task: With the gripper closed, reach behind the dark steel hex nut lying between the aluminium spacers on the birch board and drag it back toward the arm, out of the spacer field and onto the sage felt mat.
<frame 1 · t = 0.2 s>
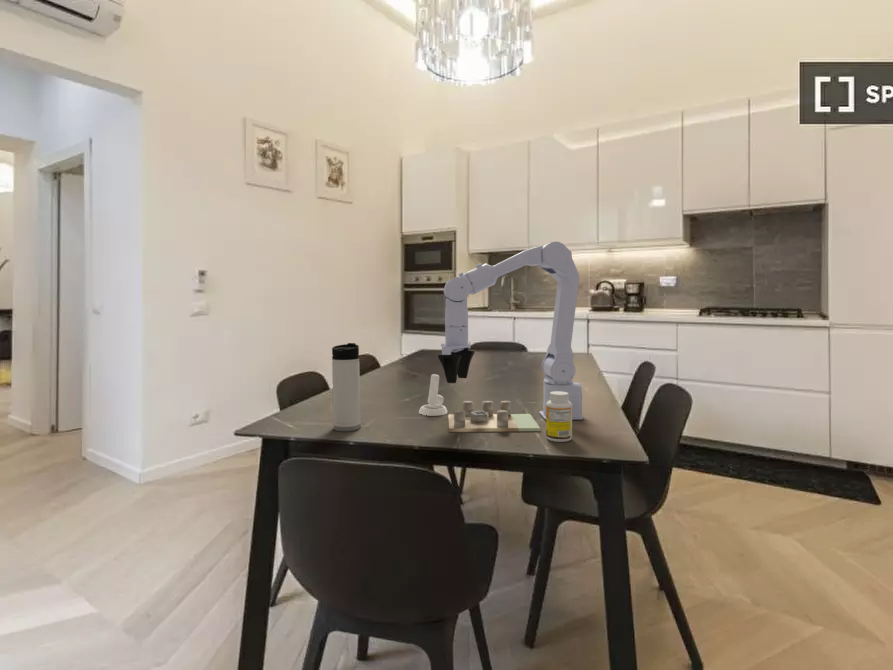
hand: (457, 380, 133), 10 cm above the table, fingers open, 7 cm apart
supplement bottle: (558, 440, 115), on the table
felt mat: (524, 423, 128), on the table
hook: (433, 413, 141), on the table
travel mug: (347, 429, 125), on the table
spacer field: (481, 424, 128), on the table
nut: (479, 420, 128), point 1 cm above the table, touching spacer field
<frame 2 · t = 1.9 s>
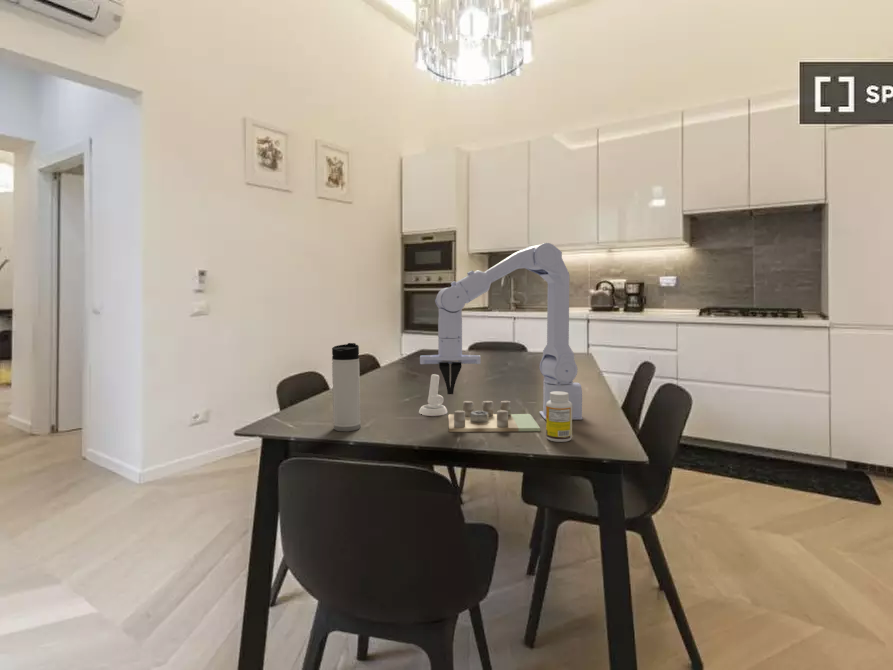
hand: (450, 393, 128), 8 cm above the table, fingers closed
nothing on the table moved.
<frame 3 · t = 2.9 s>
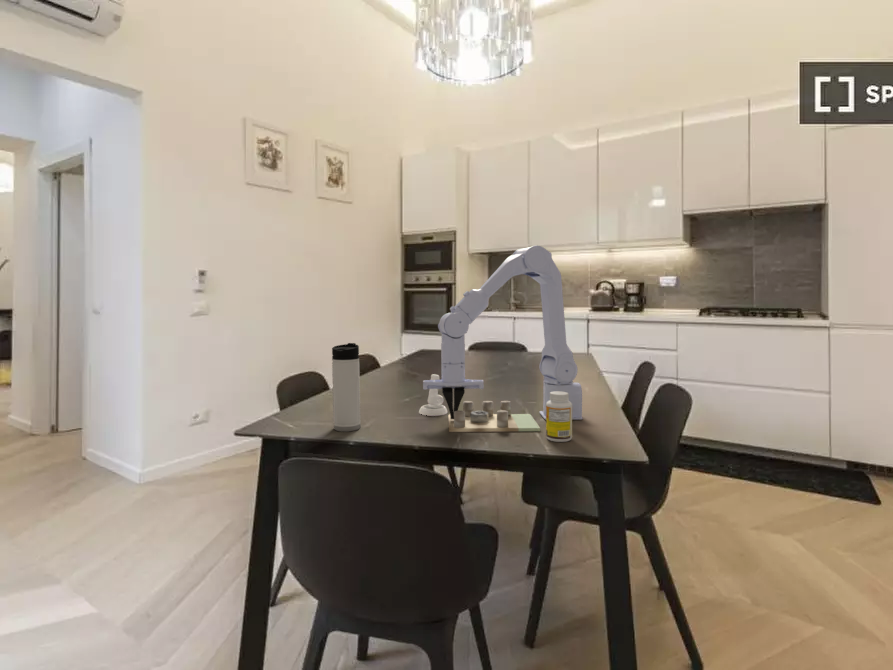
hand: (453, 418, 128), 1 cm above the table, fingers closed
nothing on the table moved.
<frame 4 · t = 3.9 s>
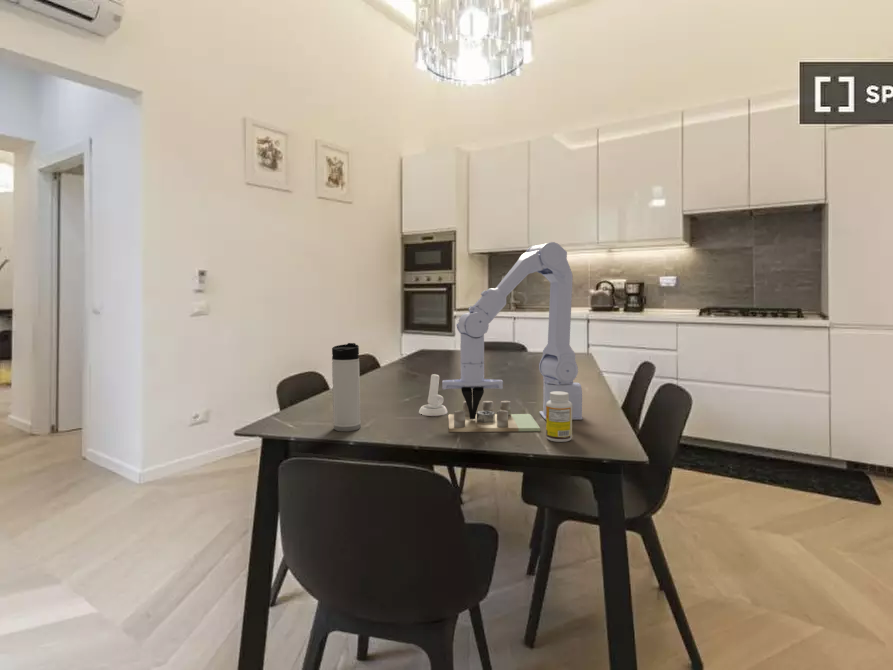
hand: (472, 418, 128), 1 cm above the table, fingers closed
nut: (485, 420, 128), point 1 cm above the table, touching gripper
everything else where it was.
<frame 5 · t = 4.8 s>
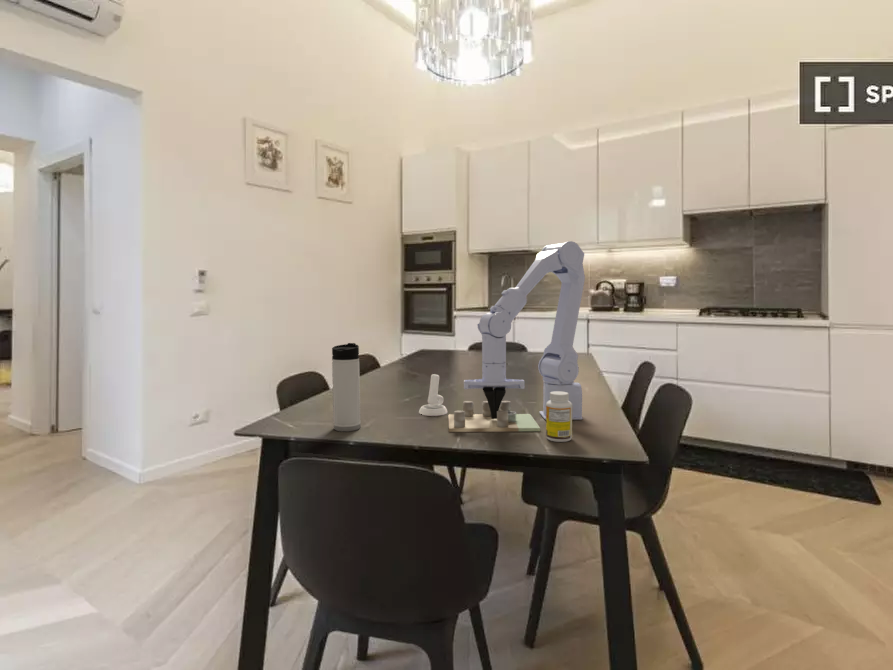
hand: (493, 417, 128), 1 cm above the table, fingers closed
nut: (507, 420, 128), point 1 cm above the table, touching gripper
everything else where it was.
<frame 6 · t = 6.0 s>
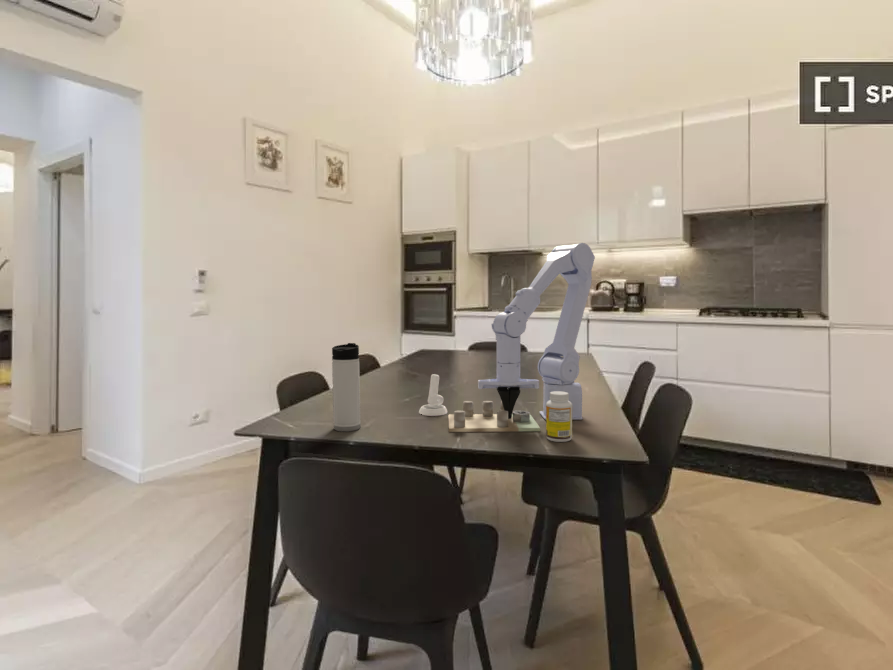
hand: (508, 417, 128), 2 cm above the table, fingers closed
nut: (521, 420, 128), point 1 cm above the table, touching felt mat, gripper, spacer field
everything else where it was.
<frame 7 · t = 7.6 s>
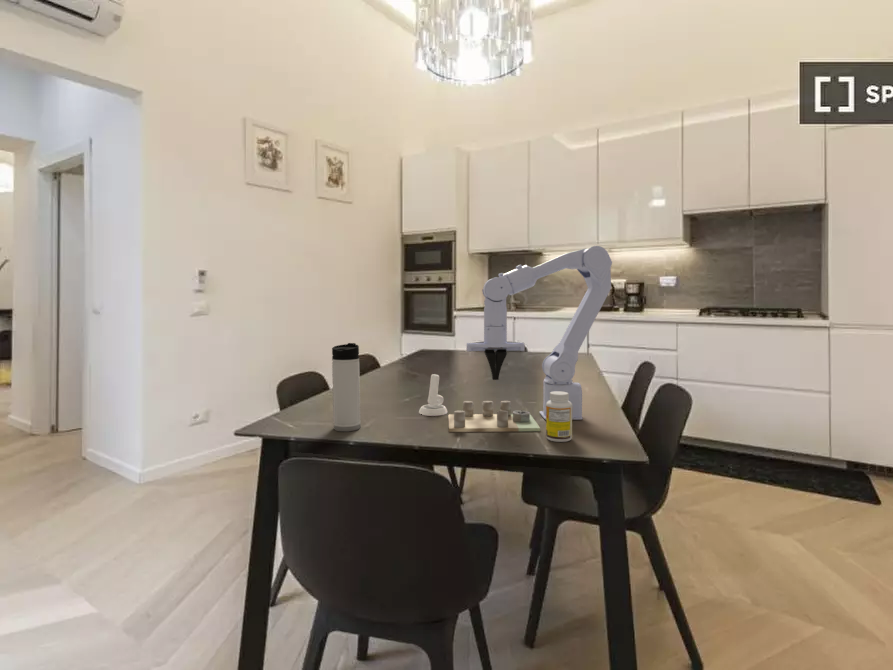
hand: (495, 379, 134), 10 cm above the table, fingers closed
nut: (521, 420, 128), point 1 cm above the table, touching felt mat, spacer field
everything else where it was.
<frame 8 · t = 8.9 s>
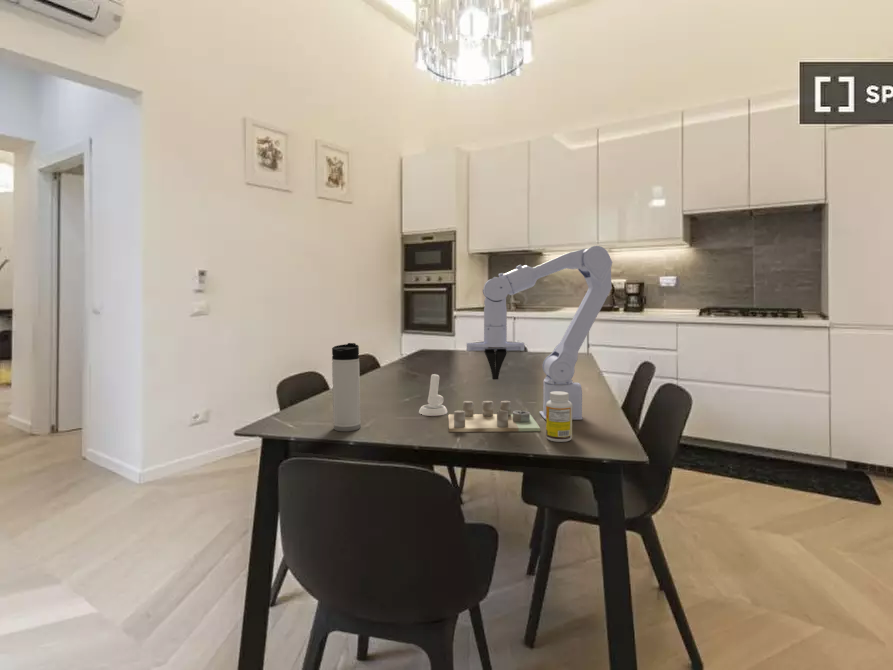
hand: (495, 378, 135), 10 cm above the table, fingers closed
nothing on the table moved.
at the end: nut inside the target area (0.8 cm from its centre), point 0.8 cm above the table; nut moved 10.2 cm from its start; the gripper is holding nothing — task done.
